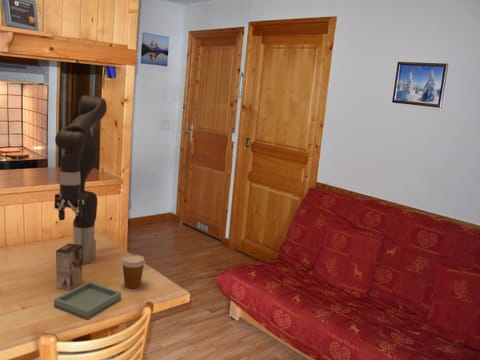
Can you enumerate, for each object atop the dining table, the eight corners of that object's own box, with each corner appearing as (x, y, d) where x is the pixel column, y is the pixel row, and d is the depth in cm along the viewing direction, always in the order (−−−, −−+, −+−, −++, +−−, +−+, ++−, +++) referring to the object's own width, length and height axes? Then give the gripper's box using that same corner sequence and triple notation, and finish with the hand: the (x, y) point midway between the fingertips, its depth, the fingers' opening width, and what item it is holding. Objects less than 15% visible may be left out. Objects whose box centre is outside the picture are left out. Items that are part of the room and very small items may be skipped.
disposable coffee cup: (130, 278, 191) (132, 252, 189) (148, 284, 187) (150, 257, 185) (115, 286, 183) (116, 259, 180) (134, 292, 179) (135, 265, 176)
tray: (89, 288, 179) (89, 281, 178) (120, 299, 173) (121, 292, 172) (54, 306, 163) (54, 299, 162) (86, 319, 157) (87, 311, 156)
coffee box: (68, 278, 186) (69, 242, 183) (82, 281, 185) (83, 245, 181) (55, 287, 177) (55, 250, 174) (70, 290, 176) (70, 252, 173)
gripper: (91, 183, 172) (90, 223, 176) (64, 177, 178) (64, 216, 182) (76, 187, 166) (76, 228, 169) (49, 180, 171) (49, 220, 175)
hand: (69, 222), depth 175 cm, fingers open, 8 cm apart
